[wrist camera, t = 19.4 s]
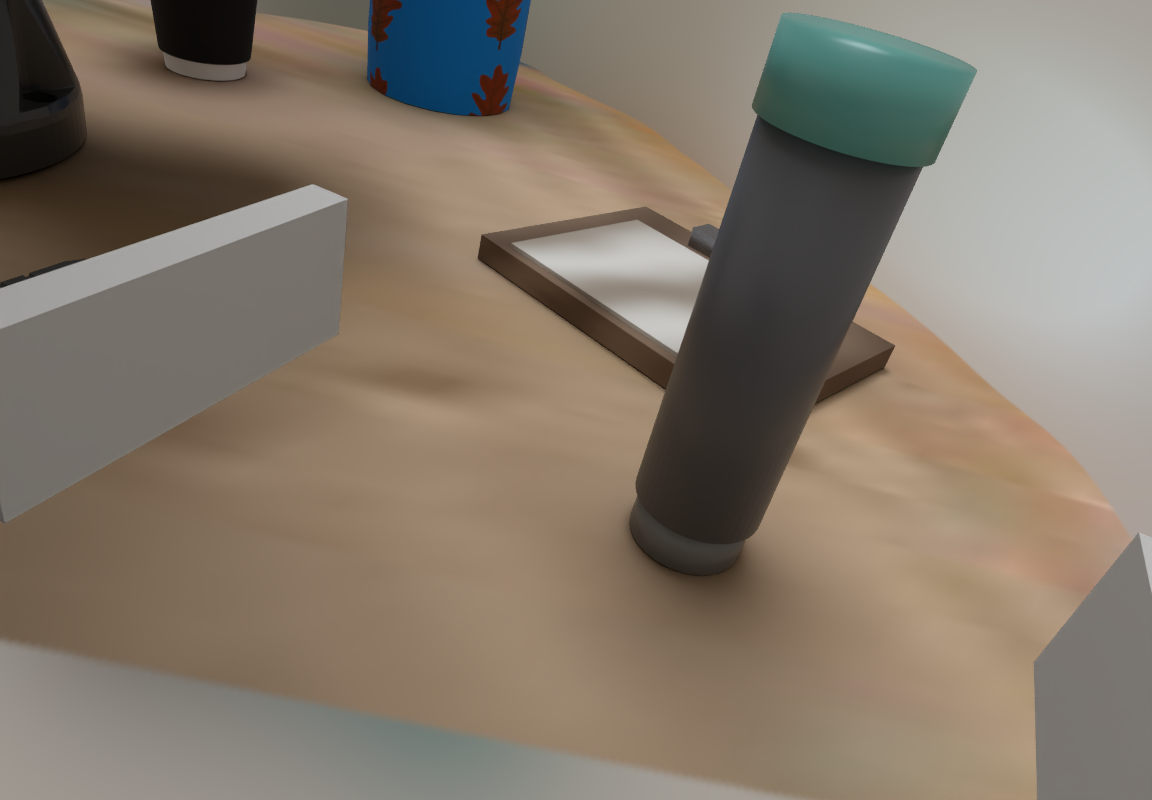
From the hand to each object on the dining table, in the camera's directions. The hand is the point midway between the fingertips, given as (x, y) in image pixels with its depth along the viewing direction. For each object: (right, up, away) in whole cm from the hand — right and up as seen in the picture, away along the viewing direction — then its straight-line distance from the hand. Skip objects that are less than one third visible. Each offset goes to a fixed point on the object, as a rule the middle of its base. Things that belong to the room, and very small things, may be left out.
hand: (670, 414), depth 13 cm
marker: (+2, -4, +13) cm, 14 cm away
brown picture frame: (+4, +4, +26) cm, 27 cm away
